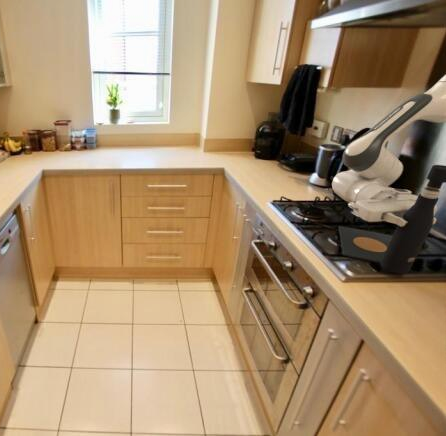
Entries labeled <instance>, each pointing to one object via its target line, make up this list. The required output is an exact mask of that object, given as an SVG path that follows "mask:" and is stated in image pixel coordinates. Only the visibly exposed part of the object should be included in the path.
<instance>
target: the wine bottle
mask: <svg viewBox="0 0 446 436" xmlns="http://www.w3.org/2000/svg"><path fill="white" fill-rule="evenodd" d="M426 179H427V180H428V182H427V184H426V187H424V188H423V189H422V191H421V192H420V194H418V195H417V196H418V198H417V200H416V202H415V204H414V205H413V206H412V207H411V208H410V209H409V210H408V211H407V212H406V213H405V214H404V215H403V217H402V218H405V219H407V220H409V223H408V225H407V226H402V227H401V226H399V225H397V226H396V228H395V230H394V232H393V234H392V236H393V237H392V239H391V241H390V243H389V245H388V247H387V250H386V252H385V254H384V256H383V258H382V260H381V264H380V265H381V268H383V269H385V270H386V271H389V272H391V273H394V274H399V275H406V274H409V272H410V270H411V268H412V266H413V265H414V263H415V260H416V259H417V257H418V255H419V254H420V251H421V249H422V247H423V246H424V243H425V242H426V239H427V238H428V236H429V235H430V232H431V230H432V227H433V225H434V224H433V219H434V218H435V217H434V216H435V215H434V207H435V205H436V206H437V203H438V201H439V197H440V194H441V189H442V186H443V184H445V183H446V165H443V164H433V165H432V166H431V167H430V170H429V172H428V174H427V176H426Z"/></svg>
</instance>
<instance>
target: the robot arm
mask: <svg viewBox="0 0 446 436" xmlns="http://www.w3.org/2000/svg"><path fill="white" fill-rule="evenodd" d="M419 120H422V121H425V122H430V123H436V124H437V123H438V124H441V123H443V124H444V123H446V74H444V75H443V76H442V77H441V78H440V79H439V80H438V81H437V82H436V83H435V84H434V85H433V86H432V87H431V88H429V89H428V90H426V91H425V92H423V93H417V94H414V95H411V96H410V97H409V98H407V99H406V100H404V101H403V102H402V103H400V104H399V105H398V106H396V107H395V108H394V109H392V111H391V112H389V113H388V114H387V115H386V116H385V117H383V118H382V119H381V120H380V121H379V122H377V123H376V124H375V125H374V126H372V127H371V128H370V129H369V130H367V131H366V132H365V133H363V134H362V135H360V136H358V137H357V138H356V139H353V140H352V141H351V142H350V143H349V144H348V145H347V146H346V147H345V149H344V150H343V153H342V163H343V165H344V166H346V168H348V170H345V171H344V170H343V171H340V172H338V173H337V174H336V175H335V176H334V177H333V179H332V182H331V187H332V191H333V192H334V193H335V194H336V195H337V196H338V197H340V199H342V200H344V201H345V202H347V207H349V208H350V209H351V210H352V211H353V213H354V214H355V215H356V216H358V217H359V218H360V219H362V220H363V221H365V222H368V223H377V222H378V223H379V222H387V223H390V224H394V225H397V226H398V225H399V226H401V227H402V226H407V225H408V223H409V220H407V219H405V218H402V217H403V215H404V214H405V213H406V212H407V211H408V210H409V209H410V208H411V207H412V206H413V205H414V204H415V202H416V200H417V198H418V196H419V195H416V194H412V191H411V190H408V189H403V188H395V187H394V188H393V187H391V185H393V184H394V183H395V182H396V181H398V179H399V178H400V177H401V176H402V174H403V172H404V164H403V162H402V161H400V160H399V158H397V157H396V155H394V154H393V153H392V152H390V151H389V150H388V149H387V148H386V144H387V143H388V142H389V140H391V139H392V138H393V137H395V136H396V135H397V134H398V133H399V132H401V131H402V130H403V129H405V128H406V127H407V126H408V125H410V124H411V123H413V122H416V121H419ZM349 169H350V170H349ZM437 211H438V206H437V204H436V205H435V207H434V216H435V214H436V213H437ZM436 222H437V218H436V217H434V219H433V224H432V225H435V224H436Z"/></svg>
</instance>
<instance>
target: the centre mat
mask: <svg viewBox="0 0 446 436" xmlns="http://www.w3.org/2000/svg"><path fill="white" fill-rule="evenodd" d="M338 232H339V233H338V234H339V239H340V247H341V253H342V256H343V257H348V258H353V259H357V260H361V261H367V262H372V263H376V264H380V265H381V260H382V258H383V256H384V254H385V252H386V250H387V247H388V245H389V243H390V241H391V239H392V237H393V234H386V233H381V232H375V231H370V230H364V229H359V228H353V227H347V226H342V225H339V226H338Z"/></svg>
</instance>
